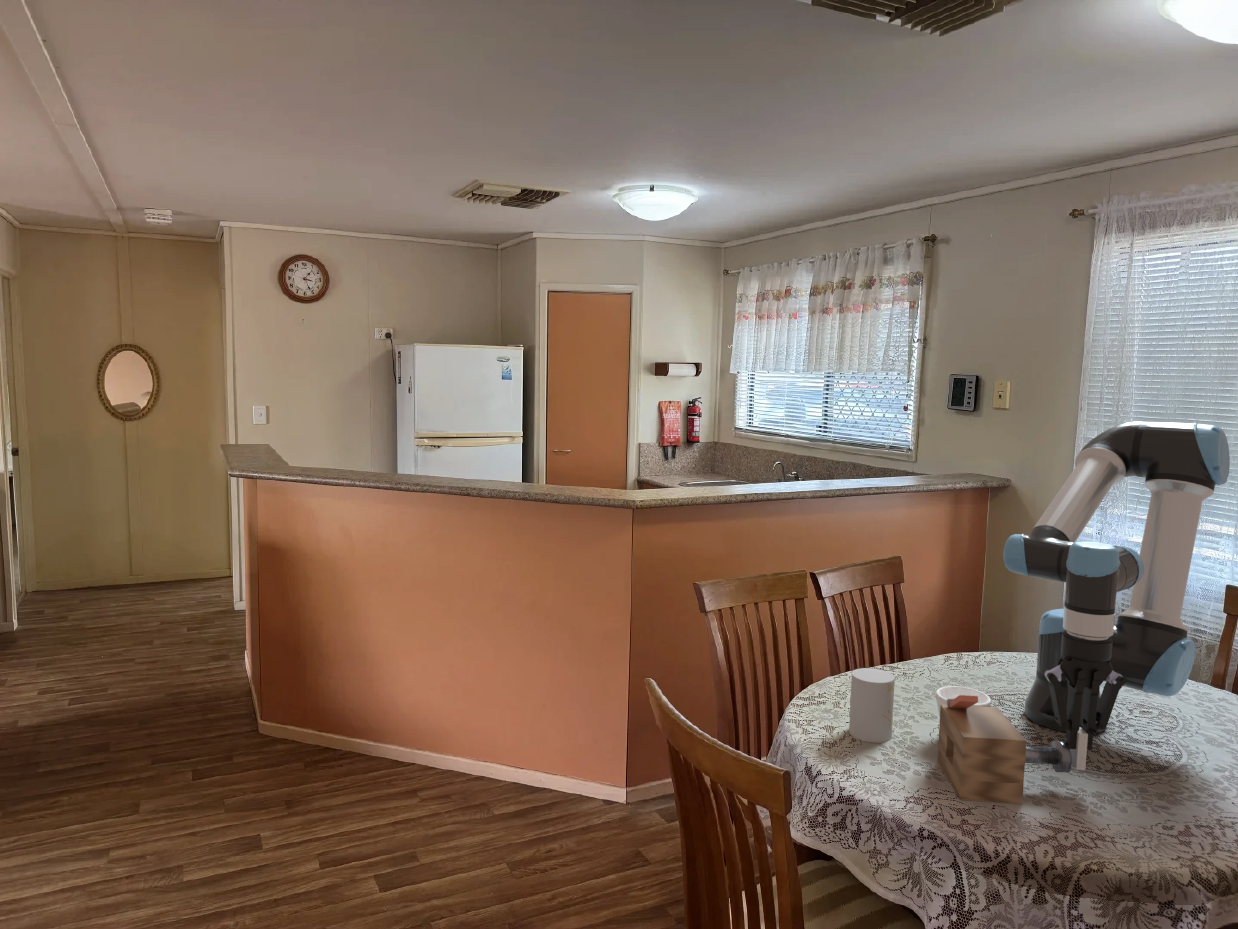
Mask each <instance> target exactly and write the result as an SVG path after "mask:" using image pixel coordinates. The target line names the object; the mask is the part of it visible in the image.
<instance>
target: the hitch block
mask: <svg viewBox="0 0 1238 929" xmlns="http://www.w3.org/2000/svg"><path fill="white" fill-rule="evenodd" d="M1026 746H1027V739H1026V738H1025V737H1024V736H1023V735H1022V734H1021V732H1020V731H1019V730H1018V729H1017V728H1016V727H1015V726H1014V725H1013V723H1012V722H1011V721H1010V720H1009V719H1008V718H1007V717H1006V715H1005V714H1004V713H1003V712H1002V711H1001V710H1000V708H999V707H994V706H990V707H979V706H971V707H969V708H967V709H960V708H948V706H947V705H942V704H941V707H940V716H939V728H938V745H937V762H936V763H937V764H938V765H939V767H940V768H941V770H942V772H943V774H944V776H945V777H946V779H947V781H948V782H949V784H950V786H951V787H952V789H953V790H954V792H955V794H956V796H957V798H958V799H959V800H960V801H970V802H971V801H975V802H989V803H1006V804H1018V805H1019V804H1020V805H1022V804H1023V798H1024V797H1023V795H1024V781H1025V768H1026V763H1025V755H1026Z"/></svg>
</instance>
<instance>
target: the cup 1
mask: <svg viewBox="0 0 1238 929" xmlns="http://www.w3.org/2000/svg"><path fill="white" fill-rule="evenodd" d="M895 680H896V677H895V675H894V674H892V673H891V672H889V671H886V670H882V669H879V668H870V667H869V668H868V667H862V668H856V669H853V671H852V672H851V682H850V684H851V686H850V702H849V703H850V704H849V705H850V706H849V725H848V726H849V727H848V728H849V730H848V733H849V734H850V735H851V736H852V737H853V738H855V739H857V740H860V741H863V742H867V743H874V744H875V743H886V742H888V741H891V739H892V738H893V720H894V719H893V718H894V703H895V702H894V701H895V700H894V699H895V682H896V681H895Z"/></svg>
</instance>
